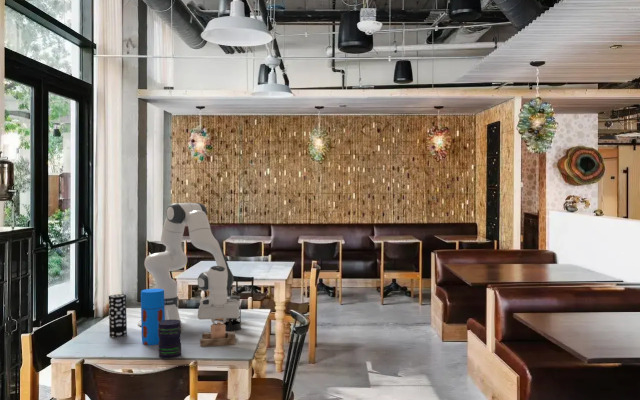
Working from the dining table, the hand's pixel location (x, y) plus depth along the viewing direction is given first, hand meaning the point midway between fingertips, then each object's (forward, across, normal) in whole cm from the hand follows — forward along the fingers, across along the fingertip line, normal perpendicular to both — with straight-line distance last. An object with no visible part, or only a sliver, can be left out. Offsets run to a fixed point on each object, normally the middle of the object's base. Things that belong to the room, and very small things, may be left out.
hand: (218, 327), depth 292 cm
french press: (+5, -6, -17) cm, 19 cm away
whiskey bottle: (+5, 0, -44) cm, 44 cm away
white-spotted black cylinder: (+5, +51, -14) cm, 53 cm away
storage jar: (+5, +20, +27) cm, 34 cm away
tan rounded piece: (+5, 0, +5) cm, 7 cm away
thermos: (+5, +31, +3) cm, 32 cm away
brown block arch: (+5, 0, +7) cm, 9 cm away
